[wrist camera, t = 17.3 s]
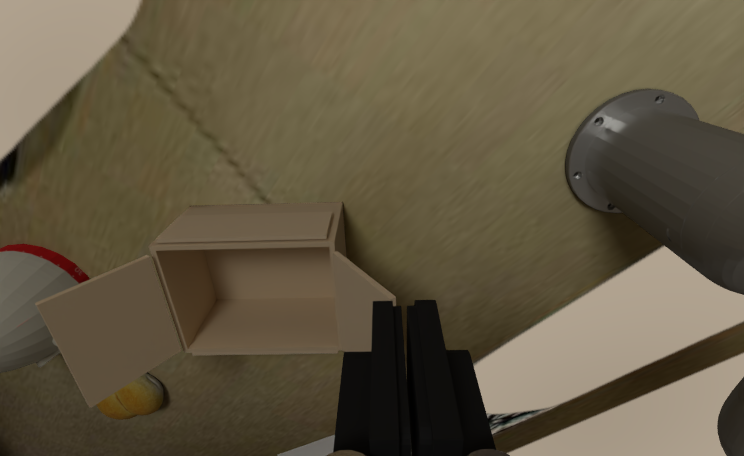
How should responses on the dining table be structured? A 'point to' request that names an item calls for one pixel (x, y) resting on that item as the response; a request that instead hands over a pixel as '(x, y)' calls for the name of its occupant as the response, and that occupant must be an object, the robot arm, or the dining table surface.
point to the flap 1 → (111, 328)
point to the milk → (313, 448)
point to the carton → (253, 277)
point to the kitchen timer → (30, 302)
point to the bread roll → (134, 399)
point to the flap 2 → (356, 303)
